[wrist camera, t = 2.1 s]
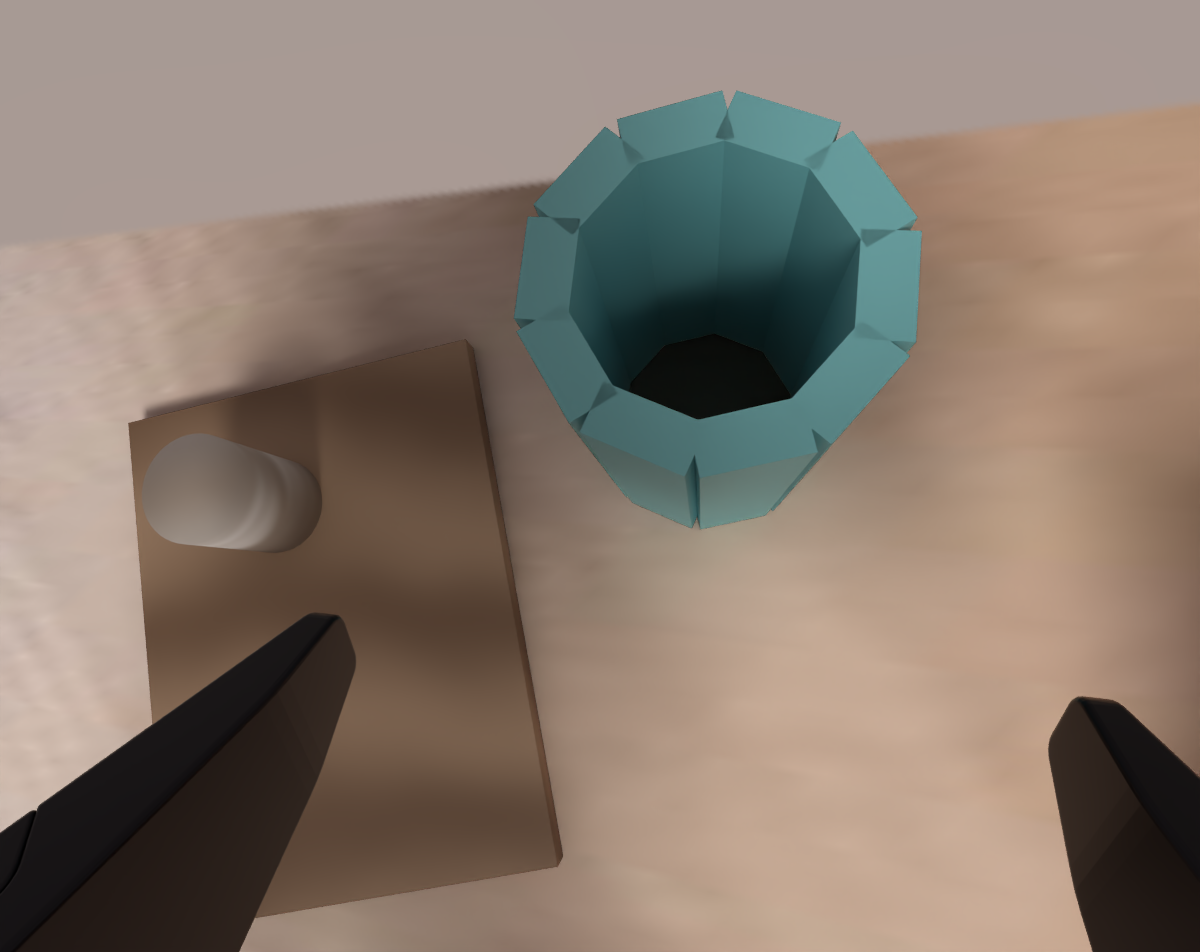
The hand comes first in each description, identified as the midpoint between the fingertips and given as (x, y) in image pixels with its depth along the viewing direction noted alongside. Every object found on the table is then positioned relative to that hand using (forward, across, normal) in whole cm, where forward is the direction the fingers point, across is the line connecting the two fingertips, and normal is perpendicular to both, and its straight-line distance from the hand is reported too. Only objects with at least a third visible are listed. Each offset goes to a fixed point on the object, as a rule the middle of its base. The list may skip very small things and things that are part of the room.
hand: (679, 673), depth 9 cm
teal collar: (+14, 0, +4) cm, 14 cm away
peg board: (+8, +11, +10) cm, 17 cm away
